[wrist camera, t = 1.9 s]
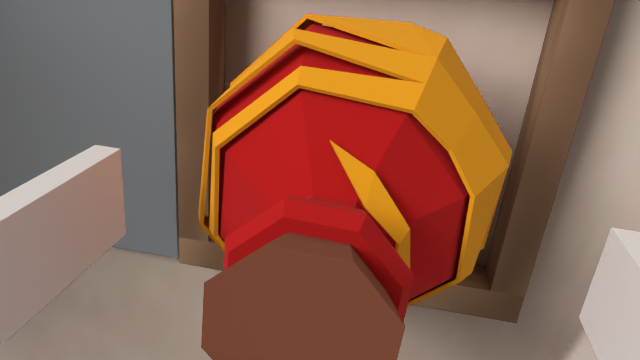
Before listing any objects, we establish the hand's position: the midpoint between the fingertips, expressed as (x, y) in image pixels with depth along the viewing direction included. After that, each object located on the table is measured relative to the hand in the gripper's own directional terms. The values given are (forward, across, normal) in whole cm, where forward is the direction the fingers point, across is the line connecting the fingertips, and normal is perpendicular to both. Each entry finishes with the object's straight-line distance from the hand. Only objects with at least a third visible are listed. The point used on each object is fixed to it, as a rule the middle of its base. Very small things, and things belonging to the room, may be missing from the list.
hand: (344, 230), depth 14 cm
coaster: (+10, -16, -2) cm, 19 cm away
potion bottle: (+11, 0, 0) cm, 11 cm away
